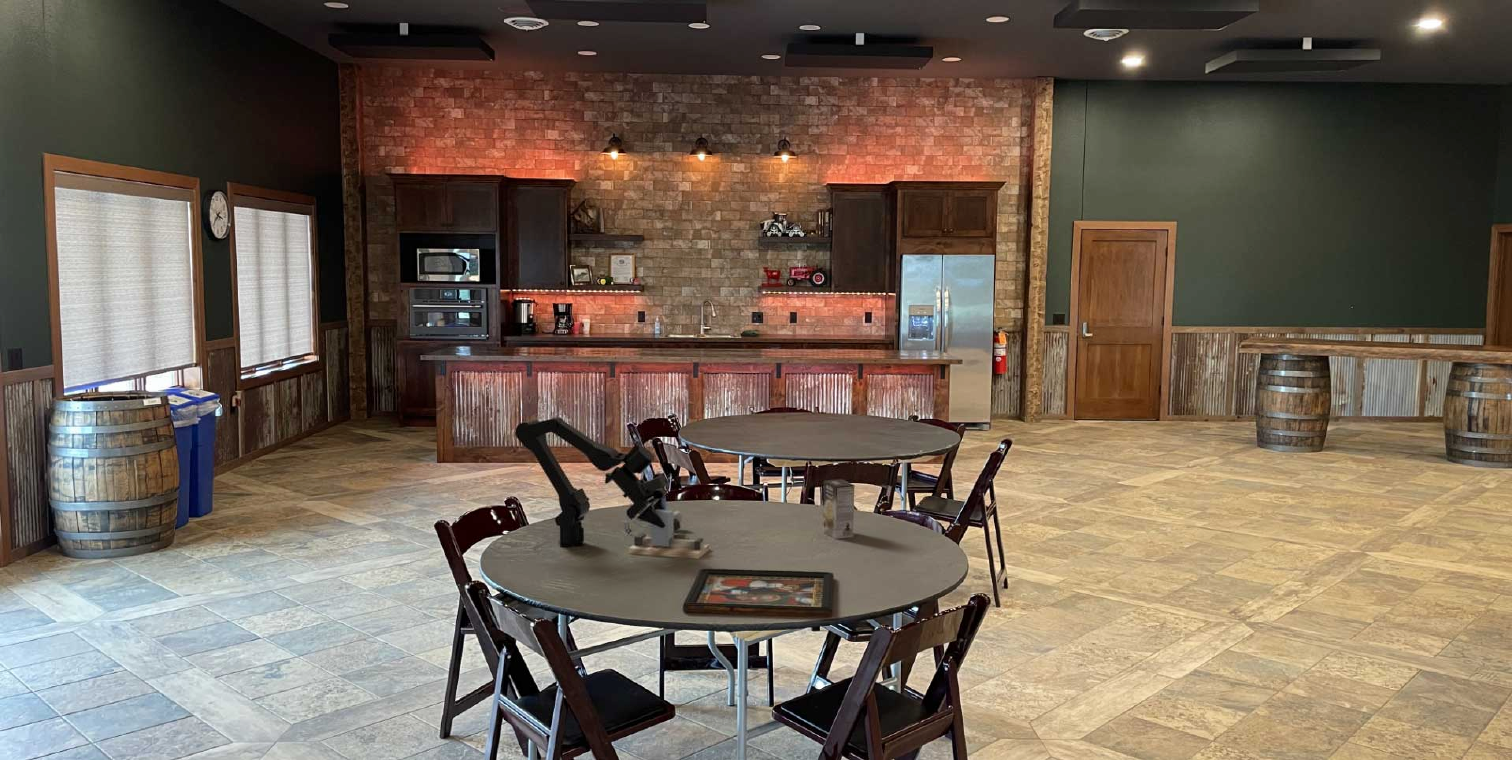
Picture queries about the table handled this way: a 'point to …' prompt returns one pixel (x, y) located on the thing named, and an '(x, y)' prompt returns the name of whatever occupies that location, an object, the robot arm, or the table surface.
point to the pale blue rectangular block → (663, 529)
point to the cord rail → (669, 547)
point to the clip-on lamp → (676, 516)
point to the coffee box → (838, 508)
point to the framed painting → (762, 592)
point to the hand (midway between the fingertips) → (667, 525)
